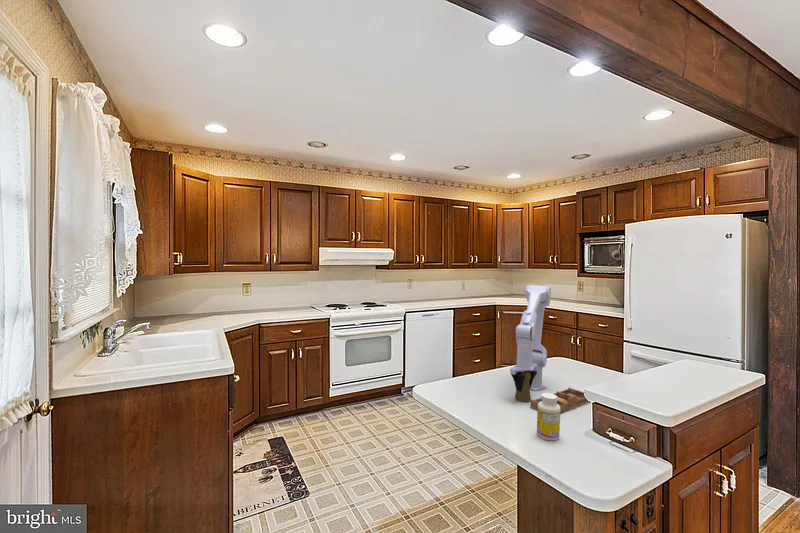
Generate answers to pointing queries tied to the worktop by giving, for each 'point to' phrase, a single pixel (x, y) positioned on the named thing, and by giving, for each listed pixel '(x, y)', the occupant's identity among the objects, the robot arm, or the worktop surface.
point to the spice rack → (565, 400)
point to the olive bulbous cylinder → (524, 388)
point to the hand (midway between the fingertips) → (523, 389)
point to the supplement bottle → (548, 417)
